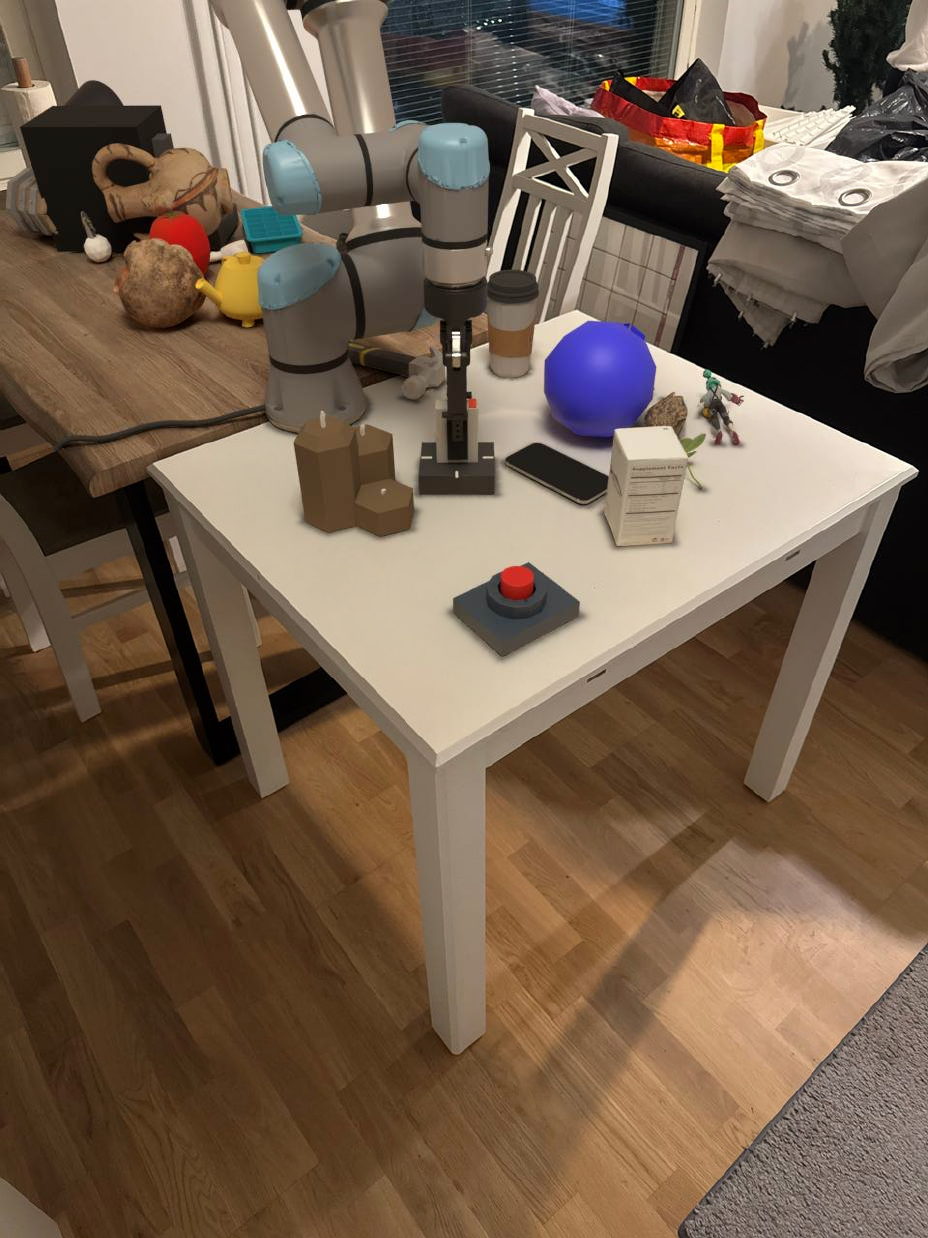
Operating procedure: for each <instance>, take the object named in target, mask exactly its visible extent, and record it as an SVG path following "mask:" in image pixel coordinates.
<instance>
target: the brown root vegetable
mask: <svg viewBox="0 0 928 1238" xmlns="http://www.w3.org/2000/svg"><path fill="white" fill-rule="evenodd" d="M123 259H124V262H125V265H124V267H123V268H120V269H119V270H118V272H117V273H116V274H115V281H114V287H113V292H114V294H115V295H116V296H118V297H119V300H120V302H121V305H122V306H123V309H124V311H125V312H126V313H127V314H128V315H129V316H130V317H132V318H133V319H134V320H136V321H137V322H139V323H140V324H143V325H145V326H148V327H152V328H157V329H167V328H173V327H174V326H177V325H180V324H181V323H182V322H184V321H186V320H187V319H189V318H190V317H191V316H193V315H194V314H195V313H197V311H199V310H200V308H202V306H203V305H204V304H205V301H206V298H207V296H206V295H204V294H203V293H202V292H201V291H199V290H198V289H197V288H196V283H197V281H198V280H199V279H201V278H203V279H205V275H204V276H203V274H202V272H201V271H200V269H199V268H198V266H197V265H196V264H195V262H194V261H193V257H192V255H191V254H190V253H189V252H188V251H187V250H186V249H185V248H183V247H182V246H180V245H169V244H168V243H167V242H166V241H164V240H162V239H157V238H153V239H152V240H141V241H140V242H136V241H133V242H132V243H131V244H129V245H128V247H127V248H126V250H125V252H123Z"/></svg>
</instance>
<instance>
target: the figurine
mask: <svg viewBox="0 0 928 1238" xmlns="http://www.w3.org/2000/svg"><path fill="white" fill-rule="evenodd" d="M702 377H703V378H704V379H706V382H705V389H706V391H707V392H705V394H704V395H702V396H700V400H699V403H698V404H697V405H696V409H700V408H702V407H703V408H702V414H703V416H704V417H705V418H708V419H709V420H710V421H711V426H713V428H714V429H715V430H716V431H717V433H718V434H717V435H716V436H711V438H713V439H714V445H717V446H718V445H720V444H722V442H723V437H724V435H723V431H722V430H721V422H720V418H721V420H722V423H723V425H724V426H725V427H727V428H728V429H729V430H730V432H731V435H732V439H733V442H734V444H735V445H739V444H740V443H741V442H740V441H741V440H740V438H739V437H740V436H739V435H738V433H737V432H736V431H735V430H734V422H733V420H731V419H730V416H729V413H730V410H728V411H727V408H726V406H725V405H724V403H723V401H722V400H723V397H724V398H725V399H726V401H727V402H731V403H733V404H735V405H737V406H738V407H740V406H741V405H742V404H743V403H744V399H742V398H745V395H742V394H741V395H740V396H738V394H736V393H733V392H730V391H728V390H726V389H723V387H722V383H721V381H720V380H719V379H718V378H716V377H715V376H712V370H710V369H707V368H706V369H704V370H703V372H702ZM707 406H708V407H707ZM718 414H719V416H718ZM719 417H720V418H719Z"/></svg>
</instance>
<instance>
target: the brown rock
mask: <svg viewBox="0 0 928 1238" xmlns="http://www.w3.org/2000/svg"><path fill="white" fill-rule="evenodd" d="M687 417H688V406H687V404H686V403H685V400H684V396H683V395H676V392H675V391H672V392H670V393H669V394H667V395H666V396H661V399H660V400H658V402H656V403H655V404H653V405H652V406H650V407H649V408H648V410H647V411H646V414H645V415H644V418H643V420H644V422H643V424H644V427H656V426H671V427H672V428H673V430H674V432H675V434H676V436H677V437H678V435H679V433H680V431H681V428H682V427H683V425H684V424H685V422H686V420H687Z"/></svg>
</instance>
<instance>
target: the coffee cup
mask: <svg viewBox="0 0 928 1238" xmlns="http://www.w3.org/2000/svg"><path fill="white" fill-rule="evenodd" d="M539 288H540V287H539V283H538V281H537V276H536V275H535V274H534V273H532V272H530V271H526V270H523V269H522V270H521V269H503V270H498V271H495V272H493V273H491V274H490V275H489V277H488V280H487V308H486V309H487V315H486V316H487V333H488V335H487V336H488V352H489V361H490V362H489V363H490V369H491V370H492V373H493V374H495V375H496V376H498V377H501V378H507V379H508V378H509V379H512V378H513V379H514V378H519V377H522V376H524V375H526V374H527V373H528V370H529V369H530V366H531V365H530V364H531V357H532V352H533V345H534V344H533V343H534V334H535V327H536V319H537V315H536V313H537V304H538V297H539V296H540V289H539Z"/></svg>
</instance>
